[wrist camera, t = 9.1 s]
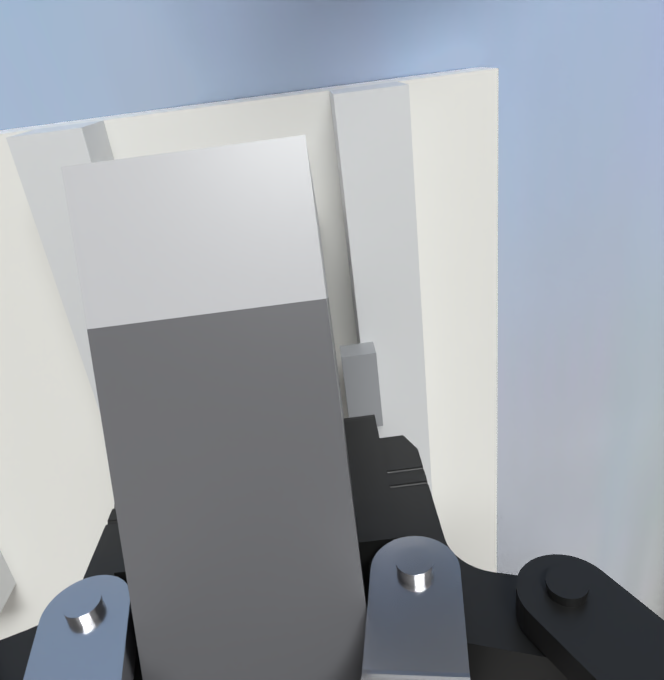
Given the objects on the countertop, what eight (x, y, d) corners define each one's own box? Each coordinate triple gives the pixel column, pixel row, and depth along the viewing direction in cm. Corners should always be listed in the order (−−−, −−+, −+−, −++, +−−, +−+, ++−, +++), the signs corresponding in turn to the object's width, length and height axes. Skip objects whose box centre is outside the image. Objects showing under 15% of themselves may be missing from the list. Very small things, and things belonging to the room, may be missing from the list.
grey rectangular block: (245, 590, 15) (170, 851, 8) (193, 230, 14) (60, 166, 7) (364, 576, 15) (394, 824, 8) (317, 214, 14) (304, 134, 7)
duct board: (-41, 623, 21) (-101, 725, 18) (-299, 169, 14) (-472, 202, 11) (483, 553, 21) (517, 642, 18) (479, 67, 14) (533, 70, 11)
